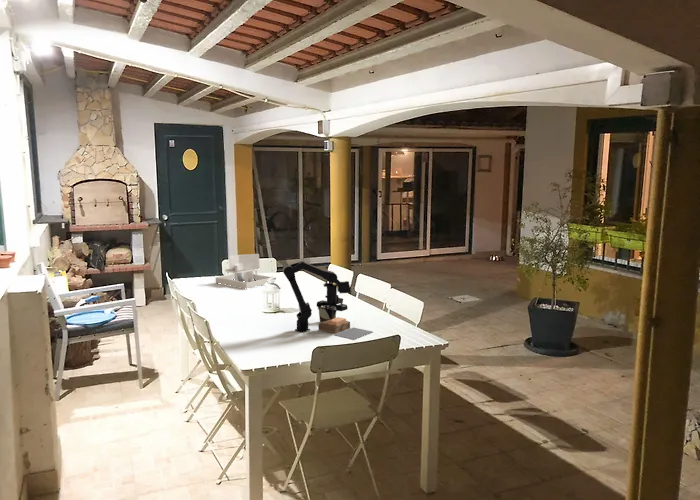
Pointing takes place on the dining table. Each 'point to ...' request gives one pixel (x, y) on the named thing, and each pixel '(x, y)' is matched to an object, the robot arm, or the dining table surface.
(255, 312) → the dining table surface
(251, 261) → the architectural model
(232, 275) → the holder corral
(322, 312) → the food container
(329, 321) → the peach block
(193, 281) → the dining table surface
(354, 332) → the mat
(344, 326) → the brown flat block
